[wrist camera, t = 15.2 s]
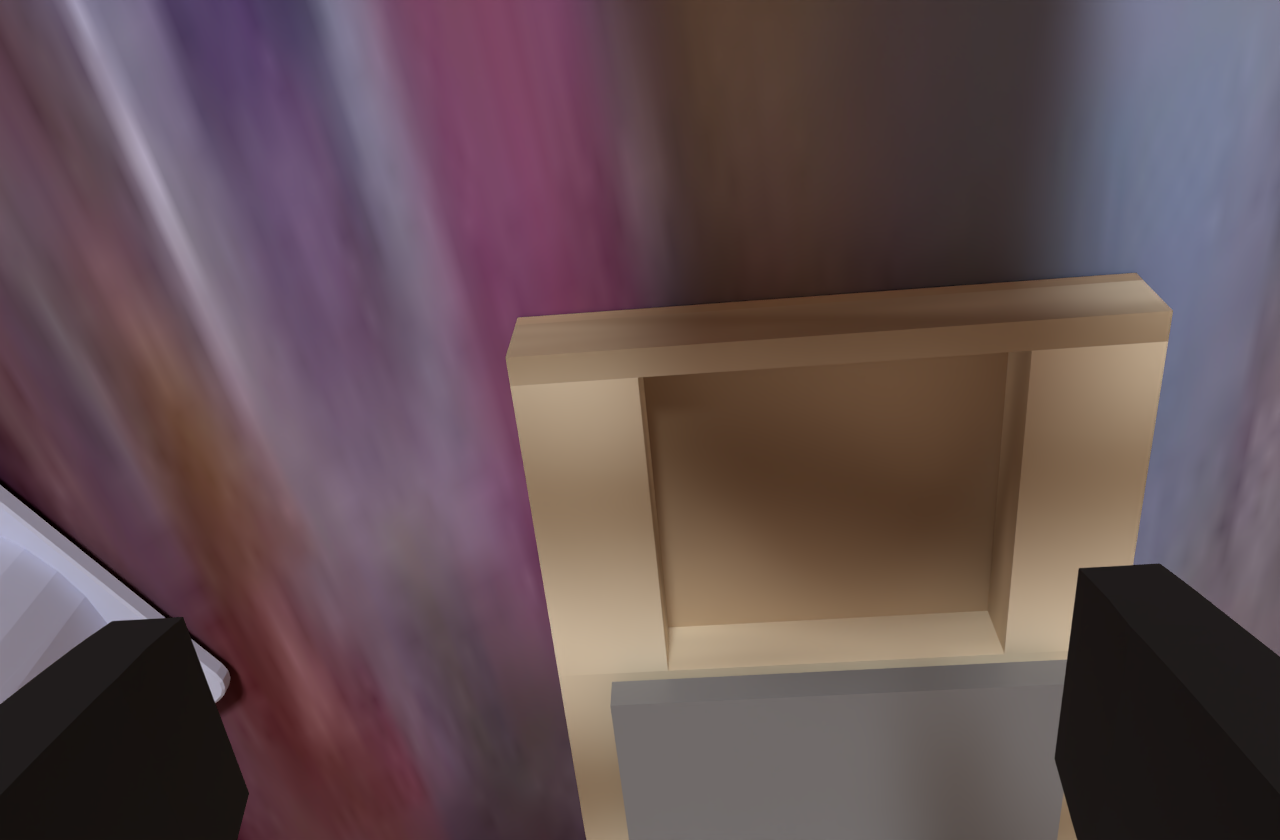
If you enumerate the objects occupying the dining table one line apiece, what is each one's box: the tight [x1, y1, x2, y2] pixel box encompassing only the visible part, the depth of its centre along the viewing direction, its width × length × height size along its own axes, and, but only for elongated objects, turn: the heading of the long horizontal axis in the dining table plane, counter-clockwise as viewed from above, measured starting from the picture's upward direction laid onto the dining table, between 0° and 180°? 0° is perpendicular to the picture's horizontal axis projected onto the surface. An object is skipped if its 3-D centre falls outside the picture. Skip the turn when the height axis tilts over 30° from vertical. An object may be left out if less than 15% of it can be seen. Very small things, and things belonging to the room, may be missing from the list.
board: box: [506, 273, 1173, 840], centre depth 23 cm, size 22×10×2 cm, turn 5°
